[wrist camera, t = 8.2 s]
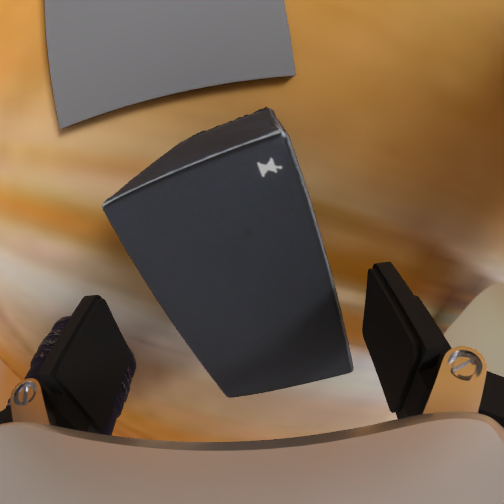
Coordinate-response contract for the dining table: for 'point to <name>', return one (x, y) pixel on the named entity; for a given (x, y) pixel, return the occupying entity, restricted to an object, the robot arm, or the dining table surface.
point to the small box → (237, 256)
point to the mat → (158, 49)
